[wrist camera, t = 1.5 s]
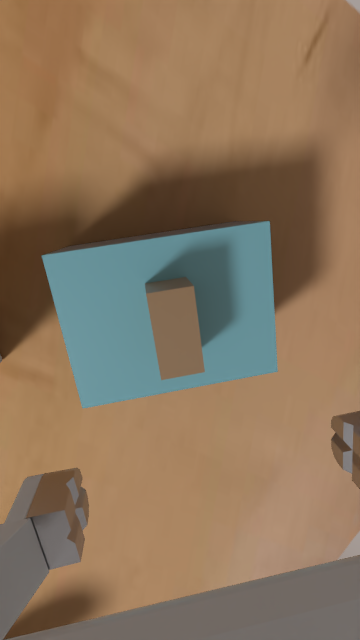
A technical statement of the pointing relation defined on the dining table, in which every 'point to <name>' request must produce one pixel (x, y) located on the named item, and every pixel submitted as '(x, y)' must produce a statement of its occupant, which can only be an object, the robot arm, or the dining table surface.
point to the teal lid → (166, 311)
